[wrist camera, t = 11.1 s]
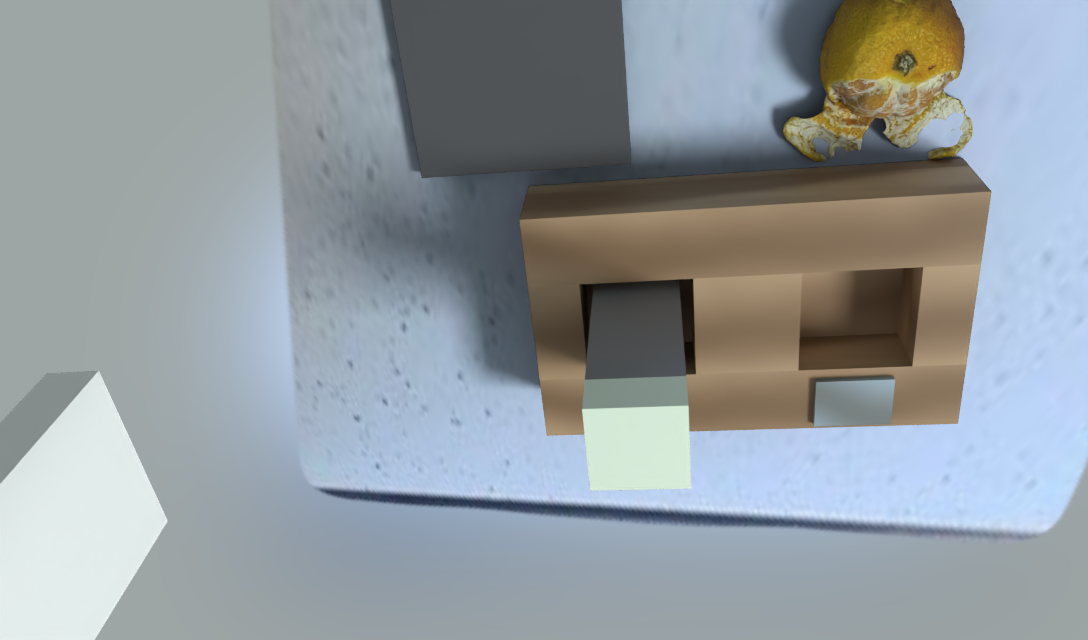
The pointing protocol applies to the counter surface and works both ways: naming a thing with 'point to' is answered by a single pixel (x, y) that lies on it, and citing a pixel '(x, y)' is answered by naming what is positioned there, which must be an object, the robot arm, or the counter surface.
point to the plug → (636, 388)
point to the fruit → (885, 75)
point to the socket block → (773, 288)
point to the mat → (514, 84)
